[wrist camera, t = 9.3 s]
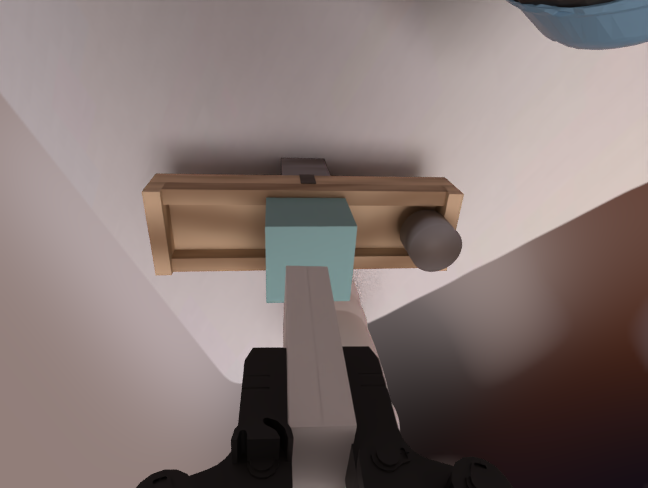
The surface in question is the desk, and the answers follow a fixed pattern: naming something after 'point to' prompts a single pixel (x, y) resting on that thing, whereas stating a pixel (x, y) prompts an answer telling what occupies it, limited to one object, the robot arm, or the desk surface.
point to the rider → (309, 242)
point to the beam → (299, 182)
